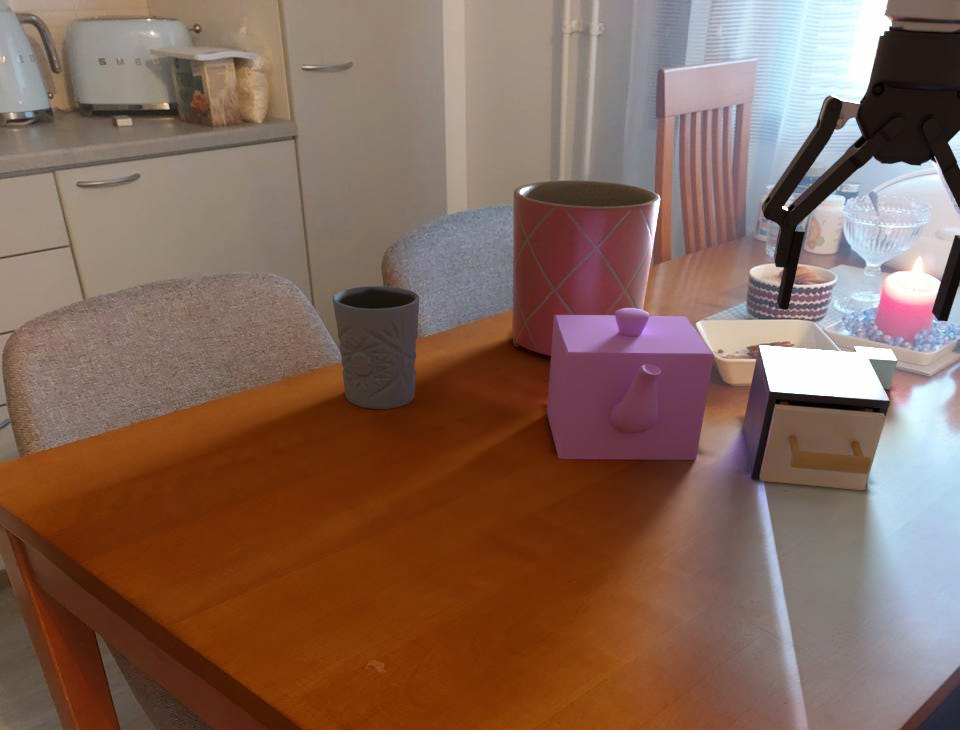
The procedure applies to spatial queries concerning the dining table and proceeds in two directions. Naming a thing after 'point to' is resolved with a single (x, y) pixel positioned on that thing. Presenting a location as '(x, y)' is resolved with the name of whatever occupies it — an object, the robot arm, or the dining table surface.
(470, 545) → the dining table surface
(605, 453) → the teapot
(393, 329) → the gray embossed cup
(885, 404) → the cabinet
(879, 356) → the block
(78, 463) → the dining table surface
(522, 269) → the planter
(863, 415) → the drawer
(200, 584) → the dining table surface
